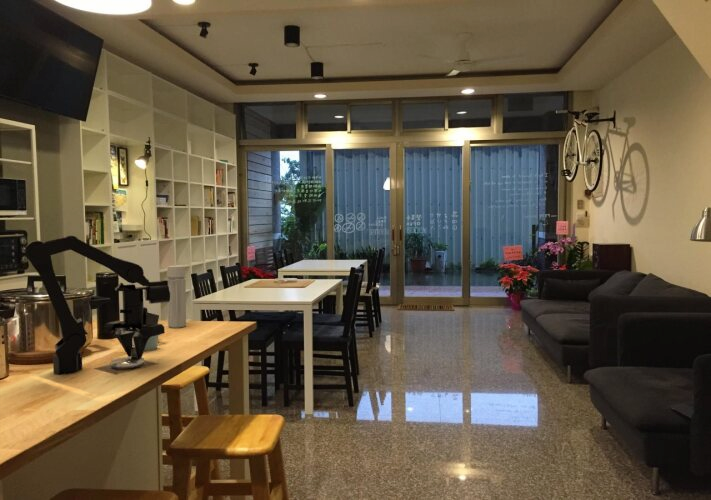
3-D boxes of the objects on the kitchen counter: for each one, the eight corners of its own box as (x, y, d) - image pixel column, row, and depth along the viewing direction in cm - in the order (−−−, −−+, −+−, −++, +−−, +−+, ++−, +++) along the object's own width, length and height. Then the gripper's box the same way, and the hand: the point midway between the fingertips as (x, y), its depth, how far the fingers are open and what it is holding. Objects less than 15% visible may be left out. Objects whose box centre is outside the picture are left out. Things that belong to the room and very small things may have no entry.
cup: (150, 355, 182) (149, 325, 182) (128, 354, 184) (128, 324, 183) (163, 350, 190) (162, 320, 190) (142, 349, 192) (141, 320, 191)
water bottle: (167, 325, 233) (166, 265, 232) (186, 324, 236) (186, 265, 234) (166, 329, 225) (165, 267, 223) (187, 328, 227) (186, 267, 226)
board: (116, 378, 156) (115, 374, 156) (93, 372, 162) (93, 368, 162) (158, 367, 168) (158, 363, 168) (136, 362, 174) (136, 358, 174)
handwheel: (125, 370, 158) (125, 354, 158) (103, 366, 163) (103, 351, 162) (150, 362, 167) (150, 348, 166) (129, 359, 171) (129, 345, 170)
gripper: (176, 302, 170) (178, 353, 171) (130, 300, 178) (132, 348, 179) (149, 308, 160) (151, 362, 161) (101, 305, 168) (103, 356, 168)
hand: (135, 357), depth 167 cm, fingers open, 4 cm apart
